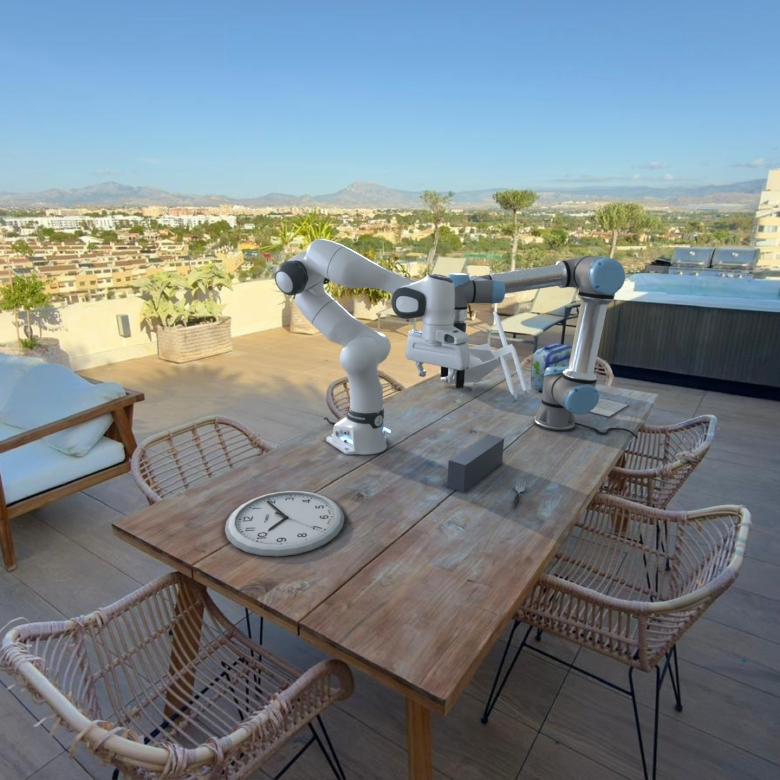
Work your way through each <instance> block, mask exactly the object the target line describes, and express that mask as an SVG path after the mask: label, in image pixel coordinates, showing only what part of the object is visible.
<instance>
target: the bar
mask: <svg viewBox="0 0 780 780" xmlns="http://www.w3.org/2000/svg"><path fill="white" fill-rule="evenodd" d="M504 445H505V438H504V437H501V436H498V435H493V434H488V433H487V435H485V436H483V437H482V438H480V439H479V440H477V441H476V442H474V443H473V444H471V445H470V446H468V447H467V448H465V449H463V450H462V451H461V452H458V453H457V454H456V455H454V456H453V457H450V459H448V464H447V482H446V483H447V484H446V487H447V488H449V489H452V490H455V491H457V492H461V493H465V492H467V491H468V490H469V489H470V488H472V487H473V486H474V485H475V484H477V483H478V482H479V481H481V480H482V479H483V478H485V477H486V476H487V475H488V474H490V473H491V472H493V470H495V469H497V467H499V466H500V465H502V464H503V458H504V457H503V456H504Z"/></svg>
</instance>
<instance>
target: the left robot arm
mask: <svg viewBox="0 0 780 780" xmlns="http://www.w3.org/2000/svg"><path fill="white" fill-rule="evenodd" d="M273 275H274V282H275V284H276V286H277V288H278V289H279V290H280V292H282V294H284V295H287V296H295V297H294V304H295V306H296V307H297V309H298V310H299V312H300V313H301V314H302V315H303V316H304V318H305V319H306V320H307V321H308V322H309V323H310V324H311V325H312V326H313V327H314V328H315V329H316V330H317V331H319V333H321V334H322V335H323V336H324V337H325V338H326V339H327V340H328V341H330V342H331V343H334V344H337V345H340V346H341V347H343V348H342V349H341V351H340V354H339V363H340V365H341V367H342V369H343V371H345V373H346V376H347V380H348V384H349V406H348V407H344V412H347V413H346V416H344V417H343V418H341V419H338V421H337V422H334V421H332V420H331V421H330V419H329V417H327V416H325V417H323V420H324V421H325V420H326V422H327V423H328V424H330V425H333V428H332V433H331V434H329V435H328V436H327V437H326V438H325V441H326V442H327V443H328V444H330V446H333V447H334V448H336V449H337V450H339V451H340V452H342V453H343V454H345V455H347V456H348V455H350V456H352V455H363V456H365V455H366V456H367V455H376V454H379V453H382V452H384V451H386V449H387V447H388V445H387V444H388V443H387V436H386V434H385V432H387V433H389V434H391V433H392V432H391V429H389V428H387V427H385V423H384V422H385V421H384V419H385V408H384V405H383V403H384V401H383V400H384V386H383V384H382V382H380V381H381V380H380V376H379V371H378V369H379V365H380V364H382V363H383V362H384V361H386V359H387V358H388V356H389V354H390V352H391V349H392V343H391V341H390V339H389V337H388V336H387V335H386V334H384V333H382V332H379V331H376V330H375V329H373V328H372V327H370V326H368V325H367V324H366V323H364V322H362V321H361V320H359V319H358V318H356V317H355V316H353V315H352V314H351V313H350V312H349V311H348V310H347V309H346V308H344V307H343V306H342V305H341V304H340V303H339V302H338V301H336V299H334V298H333V296H331V295H330V294H329V293H328V292H327V291H326V289H325V285H328V284H329V283H330V281H331V282H333V283H335V284H337V285H339V286H341V287H344V288H348V289H366V288H367V289H368V288H369V289H378V290H381V291H384V292H387V293H389V294H391V298H390V299H391V301H390V305H391V309H392V311H393V313H394V314H395V316H397V317H398V318H401V319H404V320H412V319H413V320H414V319H418V318H419V319H422V326H421V327H422V328H421V329H416V328H412V329H410V330H408V332H407V341H406V345H405V346H406V347H405V358H406V359H407V360H408V361H413V362H415V366H416V369H417V371H418V377H422V378H424V377H426V376H427V370H425V368H424V366H423V365H424V364H427V365H431V366H432V365H433V366H437V367H441V366H442V367H446V368H449V372H451V373H450V375H449V376H446V380H445V382H447V383H452V382H453V376H454V375H455V373H456V372H457V370H464V369H466V368H467V367H468V366H469V363H470V349H469V347H470V345H469V344H468V343H467V342H468V341H469V339H470V336H469V334H468V333H467V332H463V331H461V330H459V329H457V328H456V327H454V320H453V311H454V308H455V287H454V283H453V281H452V280H451V279H450V278H449V277H447V275H443V274H437V273H430V274H427V275H426V276H424V278H421V279H420V280H418V281H417V280H413V279H410V278H408V277H406V276H404V275H401V274H399V273H397V272H394V271H392V270H390V269H387V268H386V267H383V266H381V265H379V264H378V263H376V262H373V261H372V260H370V259H369V258H367V257H365V256H363V255H361V254H360V253H358V252H356V251H354V250H353V249H351V248H349V247H347V246H345V245H343V244H341V243H338V242H336V241H333V240H329V239H326V238H316V239H314V240H312V241H311V242H310V243H309V245H308V247H307V249H306V250H303V251H301V252H299V253H297V254H295V255H294V256H292V257H291V258H289V259H288V260H285V261H283V262H281V263H280V264H279V265H278V266H277V268H276V269H275V270H274V274H273Z"/></svg>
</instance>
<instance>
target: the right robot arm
mask: <svg viewBox="0 0 780 780" xmlns="http://www.w3.org/2000/svg"><path fill="white" fill-rule="evenodd" d="M446 276H447V277H449V278H450V279H451V280H452V281H453V283H454V287H455V308H454V311H453V320H454V327H456V328H457V329H459V330H461V331H463V332H465V333H467V320H468V305H469V304H491V305H494V304H501V303H503V302H504V300H505V296H506V294H512V293H513V294H514V293H519V292H527V291H533V290H540V289H545V288H552V287H558V288H560V289H564V288H573V289H575V288H576V289H578V291H577V292H578V293H577V297H578V298H579V300H580V306H579V311H578V316H577V321H576V327H575V332H574V337H573V343H572V345H571V346H572V352H571V357H570V362H569V367H548V368H546V370H545V373H544V381H543V390H541V391H542V394H541V402H540V405H539V407H538V410H537V411H536V413H535V415H534V417H533V418H534V424H535V425H536V426H537V427H539V428H542V429H544V430H549V431H556V432H567V431H572V430H574V429H575V428H576V426H580V427H583V428H586V429H590V430H593V431H595V432H597V434H599V435H607V434H609V432H610V431H612V430H613V431H624V432H628V433H629V434H631V435H632V436H634V438H635V439H639V437H638V435H637V434H636V433H634V432H633V431H632V430H630V429H628V428H624V427H608V428H607V429H606V431H600V430H599V429H597V428H596V427H592V426H590V425H586V424H582V423H579V422H576V418H575V417H576V416H575V415H585V414H588V413H590V412H589V411H591V410H592V409H594V408H595V406H596V405H597V403H598V401H599V398H600V394H599V391H598V389H597V387H596V385H597V380H598V376H597V375H596V374H595V367H596V362H597V359H598V358H597V357H598V353H599V348H600V343H601V339H602V335H603V329H604V324H605V319H606V316H607V315H606V314H607V310H608V305H609V304H610V303H612V302H613V301H615V296H616V294H617V293H618V291H619V290H621V289H622V287H624V284H625V280H626V271H625V268H624V266H623V264H622V263H621V261H618V260H617V259H615V258H611V257H609V256H598V255H583V256H578V257H573V258H569V259H565V260H559V261H557V262H556V264H550V265H544V266H538V267H537V266H535V267H531V268H530V267H529V268H524V269H518V270H517V269H516V270H510V271H504V272H497V273H496V272H495V273H489V274H485V275H470V274H468V273H457V272H456V273H455V272H454V273H448V274H446ZM468 368H469V366H468V367H467V368H466V369H468ZM440 370H441V372H439V377H440V378H441V377H446V376H448V370H449V368H446V367H442V366H440ZM464 375H465V369H464V370H457V372H456V384H454V386H455V389H464V388H465V383H464Z"/></svg>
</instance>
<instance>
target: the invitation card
mask: <svg viewBox="0 0 780 780" xmlns="http://www.w3.org/2000/svg"><path fill="white" fill-rule="evenodd" d="M628 406H629V404H627V403H623V402H618V401H614V400H609V399H605V398H601V397H599V401H598V403H597V405H596V406H595V408H594V409H592V410H591V411H589V412H588V413H593V414H596V415H600V416H604V417H608V418H609V417H611V416H613V415H614V414H616V413H617V412H619V411H621V410H623V409H624V408H626V407H628Z"/></svg>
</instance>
